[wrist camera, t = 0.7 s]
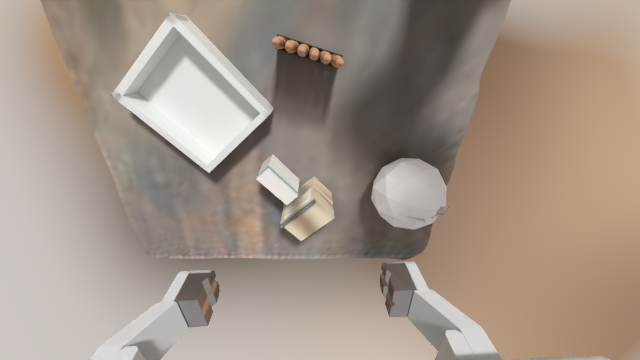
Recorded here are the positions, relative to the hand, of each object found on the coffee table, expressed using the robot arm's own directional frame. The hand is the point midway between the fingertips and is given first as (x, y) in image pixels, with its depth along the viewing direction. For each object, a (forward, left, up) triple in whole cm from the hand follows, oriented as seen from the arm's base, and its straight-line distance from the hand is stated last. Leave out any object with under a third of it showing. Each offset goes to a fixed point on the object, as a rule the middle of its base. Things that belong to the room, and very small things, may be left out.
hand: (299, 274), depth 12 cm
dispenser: (+14, +15, -39) cm, 44 cm away
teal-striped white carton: (+14, +6, -39) cm, 42 cm away
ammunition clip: (-6, -7, -39) cm, 40 cm away
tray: (+14, -14, -39) cm, 43 cm away
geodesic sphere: (-4, +24, -39) cm, 46 cm away
